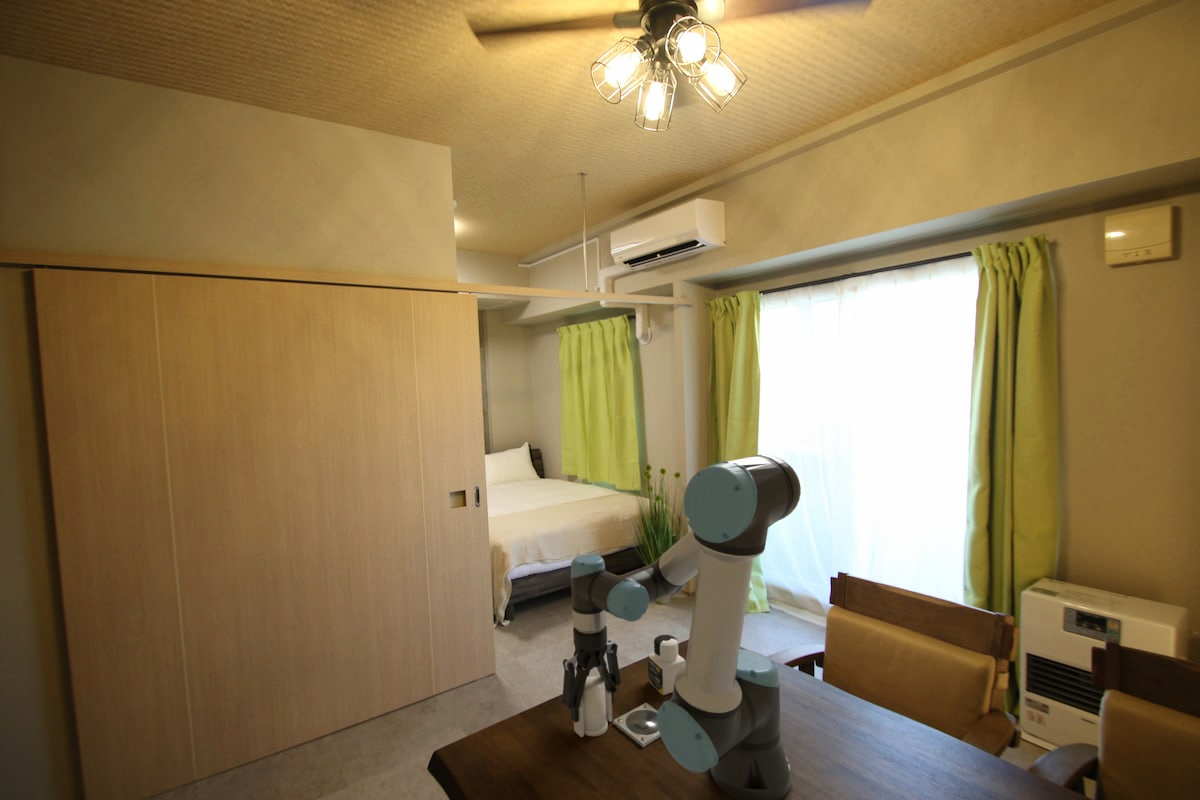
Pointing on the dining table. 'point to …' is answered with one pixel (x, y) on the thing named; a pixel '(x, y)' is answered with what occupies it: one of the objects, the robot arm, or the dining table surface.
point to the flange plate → (640, 724)
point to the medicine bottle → (664, 663)
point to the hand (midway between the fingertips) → (593, 725)
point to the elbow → (594, 707)
